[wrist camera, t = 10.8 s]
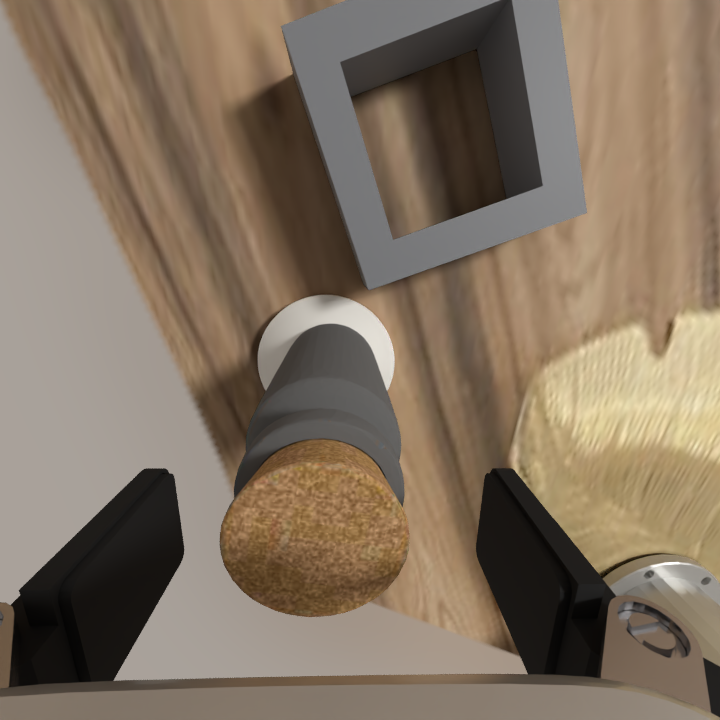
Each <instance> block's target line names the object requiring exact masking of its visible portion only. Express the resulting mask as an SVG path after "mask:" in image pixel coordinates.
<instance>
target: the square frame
mask: <svg viewBox="0 0 720 720" xmlns="http://www.w3.org/2000/svg"><path fill="white" fill-rule="evenodd" d="M281 28H282V32H283V36H284V39H285V43H286V47H287V51H288V55H289V59H290V63H291V67H292V71H293V75H294V77H295V80H296V83H297V86H298V89H299V92H300V95H301V98H302V101H303V104H304V107H305V110H306V113H307V116H308V119H309V122H310V125H311V128H312V131H313V134H314V137H315V140H316V143H317V146H318V149H319V152H320V155H321V158H322V161H323V164H324V167H325V170H326V173H327V176H328V179H329V182H330V185H331V188H332V191H333V194H334V197H335V200H336V203H337V206H338V209H339V212H340V215H341V218H342V221H343V224H344V227H345V230H346V233H347V236H348V239H349V242H350V245H351V248H352V251H353V254H354V257H355V260H356V263H357V266H358V269H359V272H360V275H361V278H362V281H363V284H364V286H365V287H366V288H367V289H368V290H371V289H374V288H377V287H379V286H382V285H385V284H388V283H391V282H394V281H396V280H399V279H402V278H405V277H408V276H410V275H413V274H416V273H419V272H422V271H424V270H427V269H430V268H433V267H436V266H439V265H441V264H444V263H447V262H450V261H453V260H455V259H458V258H461V257H464V256H467V255H470V254H472V253H475V252H478V251H481V250H484V249H486V248H489V247H492V246H495V245H498V244H501V243H503V242H506V241H509V240H512V239H515V238H517V237H520V236H523V235H526V234H529V233H532V232H534V231H537V230H540V229H543V228H546V227H548V226H551V225H554V224H557V223H560V222H563V221H565V220H568V219H571V218H574V217H577V216H579V215H582V214H585V213H587V209H586V202H585V195H584V187H583V180H582V173H581V165H580V158H579V150H578V143H577V136H576V128H575V121H574V114H573V106H572V99H571V92H570V84H569V77H568V70H567V62H566V55H565V47H564V40H563V33H562V25H561V18H560V11H559V3H558V0H346V1H344V2H341V3H339V4H336V5H333V6H331V7H328V8H326V9H323V10H321V11H318V12H316V13H313V14H311V15H308V16H305V17H303V18H300V19H298V20H295V21H293V22H290V23H288V24H285V25H283V26H281ZM475 49H477V52H478V57H479V62H480V68H481V73H482V78H483V83H484V88H485V93H486V98H487V103H488V108H489V113H490V118H491V123H492V128H493V133H494V138H495V143H496V148H497V153H498V158H499V163H500V168H501V173H502V179H503V184H504V189H505V194H506V199H505V200H502V201H500V202H497V203H494V204H491V205H489V206H486V207H483V208H480V209H477V210H475V211H472V212H469V213H466V214H464V215H461V216H458V217H455V218H453V219H450V220H447V221H444V222H441V223H439V224H436V225H433V226H430V227H428V228H425V229H422V230H419V231H416V232H414V233H411V234H408V235H405V236H403V237H400V238H397V239H394V240H393V238H392V235H391V232H390V228H389V225H388V221H387V218H386V215H385V211H384V208H383V205H382V201H381V198H380V195H379V191H378V188H377V185H376V181H375V178H374V174H373V171H372V168H371V164H370V161H369V158H368V154H367V151H366V148H365V144H364V141H363V138H362V134H361V131H360V127H359V124H358V121H357V117H356V114H355V111H354V107H353V104H352V101H351V97H352V96H354V95H357V94H359V93H362V92H365V91H367V90H370V89H373V88H375V87H378V86H380V85H383V84H386V83H388V82H391V81H394V80H396V79H399V78H401V77H404V76H407V75H409V74H412V73H415V72H417V71H420V70H422V69H425V68H428V67H430V66H433V65H436V64H438V63H441V62H443V61H446V60H449V59H451V58H454V57H457V56H459V55H462V54H464V53H467V52H470V51H472V50H475Z"/></svg>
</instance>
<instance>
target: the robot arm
mask: <svg viewBox="0 0 720 720" xmlns="http://www.w3.org/2000/svg"><path fill="white" fill-rule="evenodd" d="M476 552H477V557H478V560H479V563H480V565H481V567H482V570H483V572H484V574H485V577H486V579H487V581H488V583H489V586H490V588H491V590H492V593H493V595H494V597H495V599H496V602H497V604H498V606H499V609H500V611H501V613H502V615H503V618H504V620H505V622H506V625H507V627H508V629H509V631H510V634H511V636H512V638H513V641H514V643H515V645H516V648H517V650H518V652H519V654H520V657H521V659H522V661H523V663H524V666H525V668H526V670H527V673H528V674H527V675H526V674H449V675H448V674H444V675H443V674H440V675H361V676H360V675H359V676H302V677H253V678H251V677H248V678H209V679H208V678H206V679H168V680H125V681H113V680H114V678H115V677H116V675H117V673H118V671H119V670H120V668H121V666H122V664H123V663H124V661H125V659H126V657H127V656H128V654H129V652H130V650H131V649H132V647H133V645H134V643H135V642H136V640H137V638H138V637H139V635H140V633H141V631H142V630H143V628H144V626H145V624H146V623H147V621H148V619H149V617H150V616H151V614H152V612H153V610H154V609H155V607H156V605H157V603H158V602H159V600H160V598H161V597H162V595H163V593H164V591H165V590H166V588H167V586H168V584H169V582H170V581H171V579H172V577H173V576H174V574H175V572H176V570H177V569H178V567H179V565H180V563H181V561H182V558H183V555H184V544H183V536H182V529H181V522H180V515H179V508H178V500H177V493H176V486H175V479H174V476H173V474H169V472H168V470H167V469H144V470H142V471H141V472H140V473H139V474H138V475H137V476H136V477H135V478H134V479H133V480H132V481H131V482H130V483H129V484H128V485H127V486H126V487H125V488H124V489H123V490H122V491H120V492H119V493H118V494H117V495H116V496H115V497H114V498H113V499H112V500H111V501H110V502H109V503H108V504H107V505H106V506H105V507H104V508H103V509H102V510H101V511H100V512H99V513H98V514H97V515H96V516H95V517H94V518H93V519H92V520H91V521H90V522H89V523H88V524H87V525H85V526H84V527H83V528H82V529H81V530H80V531H79V532H78V533H77V534H76V535H75V536H74V537H73V538H72V539H71V540H70V541H69V542H68V543H67V544H66V545H65V546H64V547H63V548H62V549H61V550H60V551H59V552H58V553H57V554H56V555H55V556H54V557H53V558H52V559H51V560H50V561H48V562H47V564H45V566H43V567H42V568H41V569H40V570H39V571H38V572H37V573H36V574H35V575H34V576H33V577H32V578H31V579H30V580H29V581H28V582H27V583H26V584H25V585H24V586H23V587H22V588H21V589H20V590H19V592H20V596H19V597H18V598H17V599H16V600H15V601H14V602H13V603H12V604H11V605H9V604H7V603H1V602H0V720H720V584H719V582H718V580H717V579H716V578H715V577H714V575H713V574H712V573H711V572H709V571H708V570H707V569H706V568H704V567H703V566H702V565H701V564H699V563H698V562H697V561H694V560H692V559H690V558H688V557H684V556H679V555H667V554H660V555H652V556H647V557H643V558H639V559H636V560H633V561H631V562H628V563H626V564H624V565H622V566H620V567H618V568H617V569H615V570H613V571H611V572H610V573H609V574H607V575H606V576H605V577H604V578H601V576H600V575H599V574H598V573H597V571H596V570H595V569H594V568H593V567H592V565H591V564H590V563H589V562H588V560H587V559H586V558H585V557H584V555H583V554H582V553H581V552H580V550H579V549H578V548H577V547H576V546H575V544H574V543H573V542H572V541H571V539H570V538H569V537H568V536H567V534H566V533H565V532H564V531H563V529H562V528H561V527H560V526H559V524H558V523H557V522H556V521H555V520H554V519H553V518H552V517H551V515H550V514H549V513H548V512H547V510H546V509H545V508H544V507H543V505H542V504H541V503H540V502H539V500H538V499H537V498H536V497H535V495H534V494H533V493H532V492H531V491H530V489H529V488H528V487H527V486H526V484H525V483H524V482H523V481H522V479H521V478H520V477H519V476H518V474H517V473H516V472H515V471H514V470H513V469H511V468H493V469H492V470H491V472H490V473H487V474H486V475H485V479H484V487H483V495H482V503H481V511H480V519H479V527H478V535H477V543H476Z"/></svg>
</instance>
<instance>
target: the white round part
mask: <svg viewBox="0 0 720 720" xmlns="http://www.w3.org/2000/svg"><path fill="white" fill-rule="evenodd" d="M321 324H340V325H344V326H347V327H350V328H351V329H353V330H355V331H357V332H358V333H359V334H360V335H362V336H363V337H364V338H365V340H366V341H367V342H368V344H369V345H370V347H371V349H372V351H373V353H374V356H375V359H376V361H377V364H378V367H379V370H380V373H381V375H382V378H383V381H384V384H385V387H386V390H388V388H389V386H390V384H391V380H392V377H393V372H394V360H395V359H394V350H393V346H392V342H391V340H390V337H389V335H388V333H387V331H386V329H385V327H384V326H383V324H382V323H381V322H380V320H379V319H378V318H377V317H376V316H375V315H374V314H373V313H372V312H371V311H370V310H369V309H368V308H366V307H365V306H364V305H362V304H360V303H358V302H357V301H354V300H352V299H349V298H347V297H343V296H339V295H331V294H320V295H313V296H309V297H305V298H302V299H300V300H297V301H295V302H293V303H292V304H290V305H288V306H287V307H286V308H284V309H283V310H282V311H281V312H279V313H278V314H277V315H276V316H275V318H274V319H273V320H272V321H271V322H270V324H269V325H268V327H267V328H266V330H265V332H264V334H263V336H262V339H261V342H260V345H259V350H258V371H259V375H260V379H261V382H262V384H263V387H264V389H265V391H266V390H267V388H268V386H269V384H270V383H271V381H272V379H273V377H274V375H275V374H276V372H277V370H278V368H279V367H280V365H281V363H282V361H283V359H284V358H285V356H286V354H287V352H288V351H289V349H290V347H291V346H292V344H293V343H294V342H295V340H296V339H297V338H298V337H299V336H300V335H301V334H302V333H303V332H305V331H306V330H308V329H310V328H312V327H315V326H318V325H321Z"/></svg>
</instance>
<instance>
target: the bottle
mask: <svg viewBox="0 0 720 720" xmlns="http://www.w3.org/2000/svg"><path fill="white" fill-rule="evenodd" d="M400 453H401V436H400V431H399V427H398V423H397V419H396V416H395V413H394V410H393V407H392V404H391V401H390V398H389V395H388V392H387V390H386V387H385V384H384V381H383V378H382V375H381V373H380V370H379V367H378V364H377V361H376V359H375V356H374V353H373V351H372V349H371V347H370V345H369V344H368V342H367V341H366V340H365V338H364V337H363V336H362V335H360V334H359V333H358V332H357V331H355V330H353V329H351V328H350V327H347V326H344V325H340V324H321V325H318V326H315V327H312V328H310V329H308V330H306V331H305V332H303V333H302V334H301V335H300V336H299V337H298V338H297V339H296V340H295V342H294V343H293V344H292V346H291V347H290V349H289V351H288V352H287V354H286V356H285V358H284V359H283V361H282V363H281V365H280V367H279V368H278V370H277V372H276V374H275V375H274V377H273V379H272V381H271V383H270V384H269V386H268V388H267V390H266V392H265V394H264V395H263V397H262V399H261V401H260V403H259V405H258V407H257V409H256V411H255V413H254V415H253V417H252V419H251V422H250V425H249V428H248V432H247V435H246V453H245V455H244V457H243V460H242V462H241V464H240V466H239V469H238V472H237V476H236V480H235V486H234V500H233V501H232V503H231V504H230V506H229V508H228V510H227V512H226V515H225V517H224V520H223V523H222V525H221V532H220V550H221V555H222V559H223V562H224V565H225V568H226V569H227V571H228V573H229V575H230V576H231V578H232V580H233V581H234V582H235V583H236V584H237V585H238V586H239V588H240V589H241V590H242V591H243V592H244V593H246V594H247V595H248V596H249V597H251V598H252V599H253V600H255V601H257V602H259V603H260V604H262V605H264V606H266V607H269V608H271V609H273V610H275V611H278V612H282V613H285V614H290V615H297V616H305V617H319V616H331V615H336V614H341V613H345V612H348V611H351V610H354V609H356V608H358V607H360V606H363V605H364V604H366V603H368V602H370V601H371V600H373V599H375V598H376V597H378V596H379V595H380V594H381V593H383V592H384V591H385V590H386V589H387V588H388V587H389V586H390V585H391V583H392V582H393V581H394V580H395V579H396V577H397V576H398V575H399V573H400V571H401V569H402V567H403V565H404V563H405V561H406V558H407V554H408V551H409V540H410V536H409V527H408V521H407V518H406V514H405V512H404V510H403V508H402V507H403V501H404V480H403V474H402V470H401V467H400V463H399V459H400Z"/></svg>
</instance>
